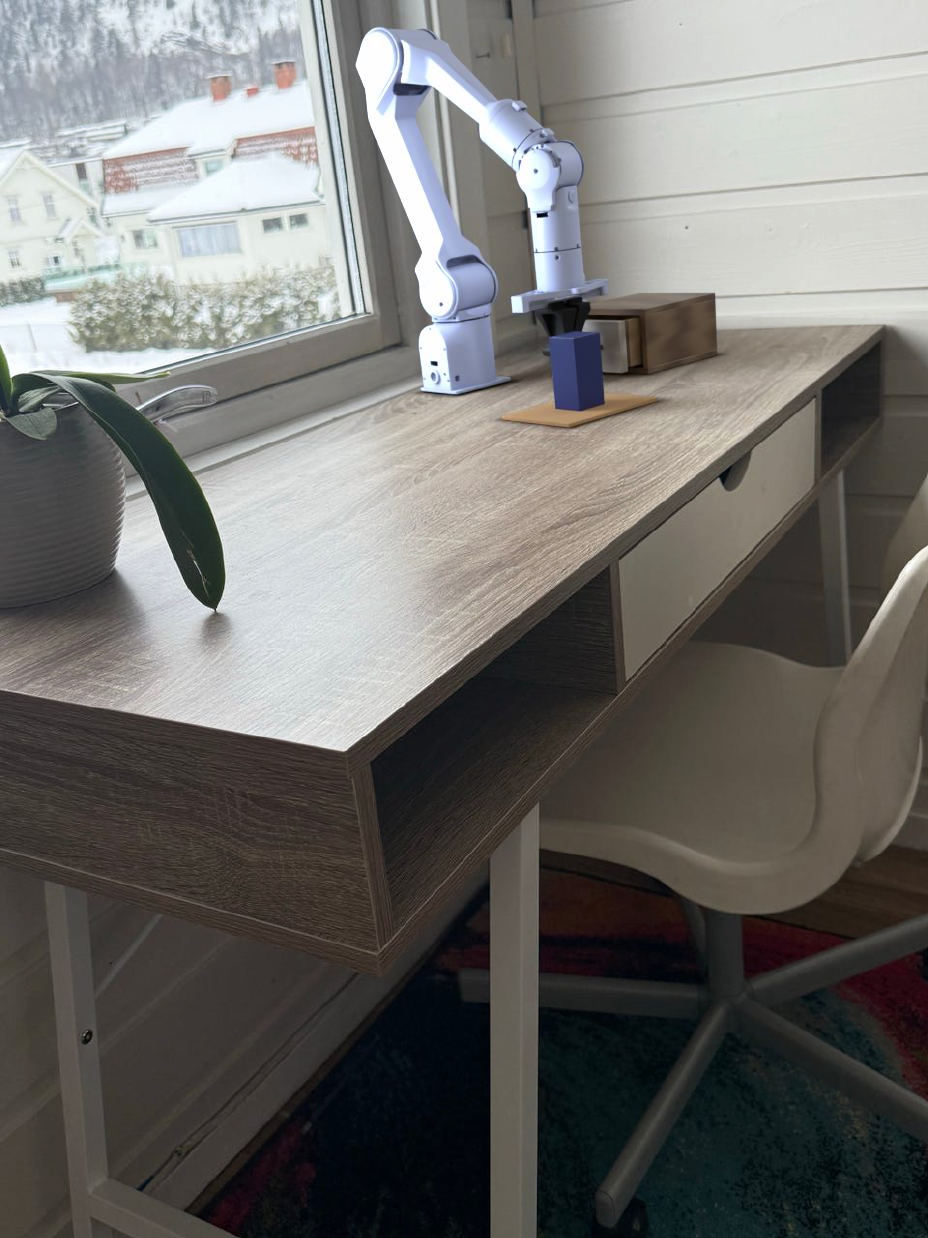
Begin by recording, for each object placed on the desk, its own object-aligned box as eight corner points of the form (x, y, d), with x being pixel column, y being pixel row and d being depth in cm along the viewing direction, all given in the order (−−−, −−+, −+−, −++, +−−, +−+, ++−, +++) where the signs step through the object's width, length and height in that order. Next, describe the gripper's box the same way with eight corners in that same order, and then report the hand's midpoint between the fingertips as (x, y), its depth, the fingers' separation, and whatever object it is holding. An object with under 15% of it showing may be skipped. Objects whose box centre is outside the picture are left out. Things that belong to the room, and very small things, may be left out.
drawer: (597, 379, 141) (594, 327, 139) (530, 374, 150) (525, 325, 148) (687, 355, 150) (685, 305, 148) (619, 351, 160) (616, 305, 157)
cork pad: (569, 427, 122) (568, 423, 121) (501, 419, 130) (501, 415, 130) (658, 400, 129) (658, 397, 129) (589, 394, 138) (589, 391, 137)
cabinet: (648, 374, 146) (644, 309, 143) (573, 369, 156) (568, 308, 153) (717, 354, 153) (715, 292, 150) (642, 351, 163) (638, 292, 160)
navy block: (579, 411, 127) (573, 338, 124) (554, 408, 130) (548, 337, 127) (605, 404, 129) (600, 331, 126) (580, 401, 132) (574, 330, 129)
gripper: (535, 256, 131) (546, 376, 136) (623, 240, 139) (630, 353, 144) (495, 258, 136) (507, 373, 141) (583, 242, 144) (591, 351, 149)
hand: (567, 363), depth 143 cm, fingers closed
